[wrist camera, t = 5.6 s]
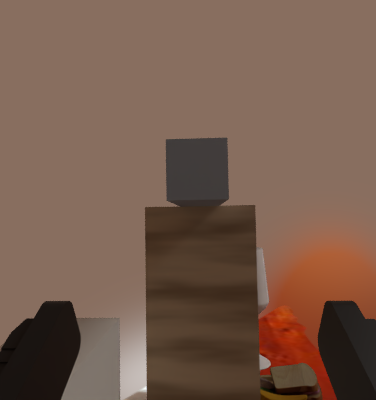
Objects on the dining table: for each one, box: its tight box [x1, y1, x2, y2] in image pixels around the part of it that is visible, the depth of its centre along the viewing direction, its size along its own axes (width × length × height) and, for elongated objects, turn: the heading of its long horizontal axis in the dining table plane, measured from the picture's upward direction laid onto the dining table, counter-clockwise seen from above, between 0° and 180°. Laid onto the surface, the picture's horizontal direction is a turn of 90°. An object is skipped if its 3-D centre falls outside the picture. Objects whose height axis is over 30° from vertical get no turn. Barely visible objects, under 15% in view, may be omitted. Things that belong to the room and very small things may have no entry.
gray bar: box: [166, 138, 229, 207], centre depth 33 cm, size 30×4×4 cm, turn 177°
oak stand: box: [145, 205, 261, 400], centre depth 37 cm, size 18×10×32 cm, turn 177°
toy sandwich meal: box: [260, 363, 322, 400], centre depth 53 cm, size 12×14×5 cm
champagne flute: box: [256, 248, 271, 370], centre depth 68 cm, size 7×7×24 cm
